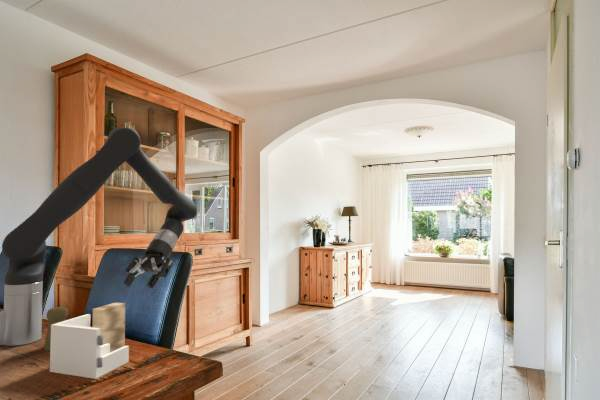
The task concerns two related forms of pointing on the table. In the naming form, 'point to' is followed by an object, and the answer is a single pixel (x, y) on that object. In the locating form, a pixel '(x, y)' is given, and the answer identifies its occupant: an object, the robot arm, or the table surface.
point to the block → (111, 324)
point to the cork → (54, 322)
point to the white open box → (82, 349)
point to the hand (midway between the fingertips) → (137, 286)
